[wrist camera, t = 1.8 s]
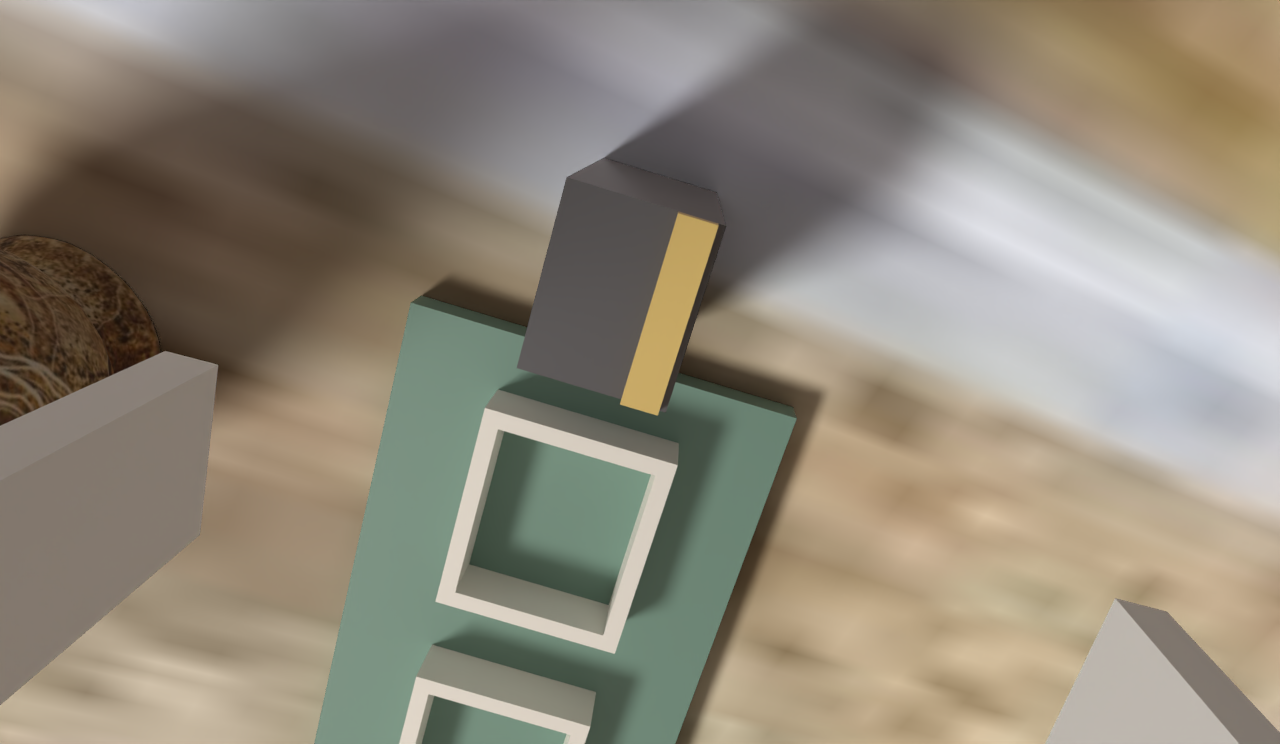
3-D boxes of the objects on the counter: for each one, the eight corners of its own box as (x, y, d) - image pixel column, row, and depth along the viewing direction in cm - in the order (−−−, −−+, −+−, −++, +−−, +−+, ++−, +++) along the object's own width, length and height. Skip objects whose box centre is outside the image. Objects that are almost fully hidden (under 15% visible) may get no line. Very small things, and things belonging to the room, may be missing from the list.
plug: (603, 158, 29) (564, 178, 20) (716, 192, 29) (726, 227, 20) (565, 296, 31) (512, 372, 22) (673, 328, 31) (665, 417, 22)
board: (421, 295, 31) (391, 315, 28) (793, 406, 31) (803, 439, 28) (307, 808, 38) (273, 868, 35) (612, 894, 38) (605, 961, 35)
